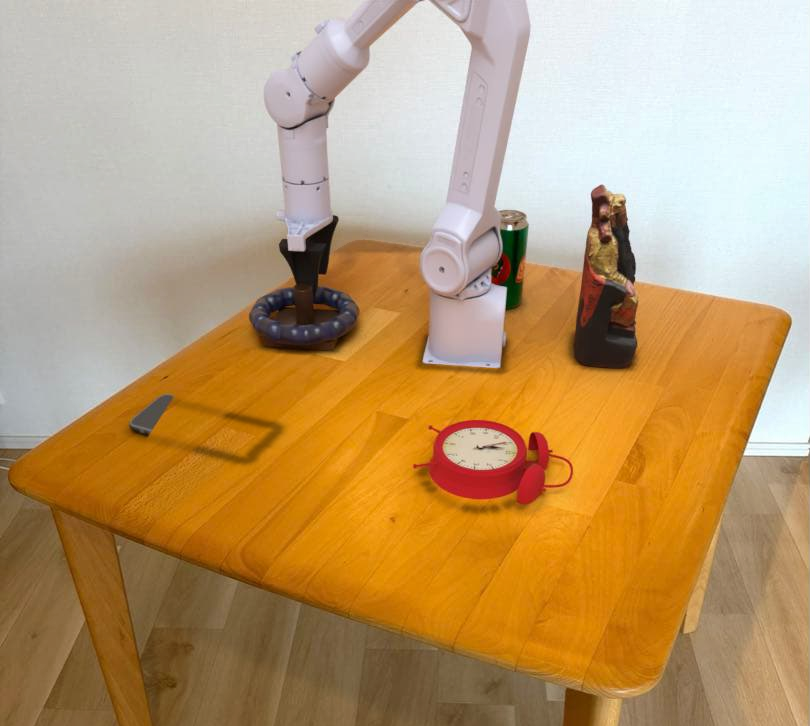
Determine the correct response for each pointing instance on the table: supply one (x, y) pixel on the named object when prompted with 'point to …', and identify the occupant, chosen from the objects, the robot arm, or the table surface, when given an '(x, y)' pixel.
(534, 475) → the alarm clock
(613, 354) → the statue
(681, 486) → the table surface
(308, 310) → the post
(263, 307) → the ring
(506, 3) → the robot arm
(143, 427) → the grey flat tapered piece
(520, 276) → the soda can
